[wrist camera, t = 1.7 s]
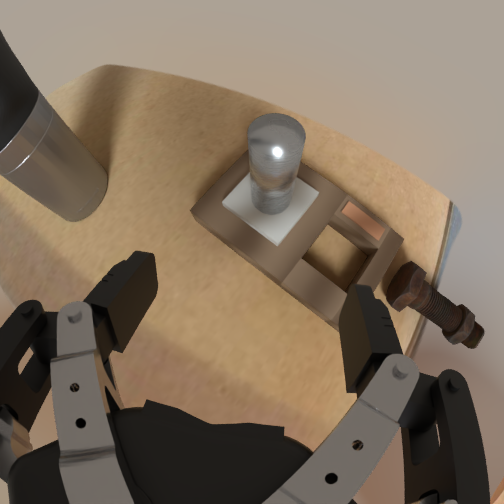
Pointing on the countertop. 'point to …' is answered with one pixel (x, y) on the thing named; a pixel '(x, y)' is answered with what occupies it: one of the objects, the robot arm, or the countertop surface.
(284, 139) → the peg
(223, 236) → the recessed board
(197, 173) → the countertop surface
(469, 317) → the bolt
